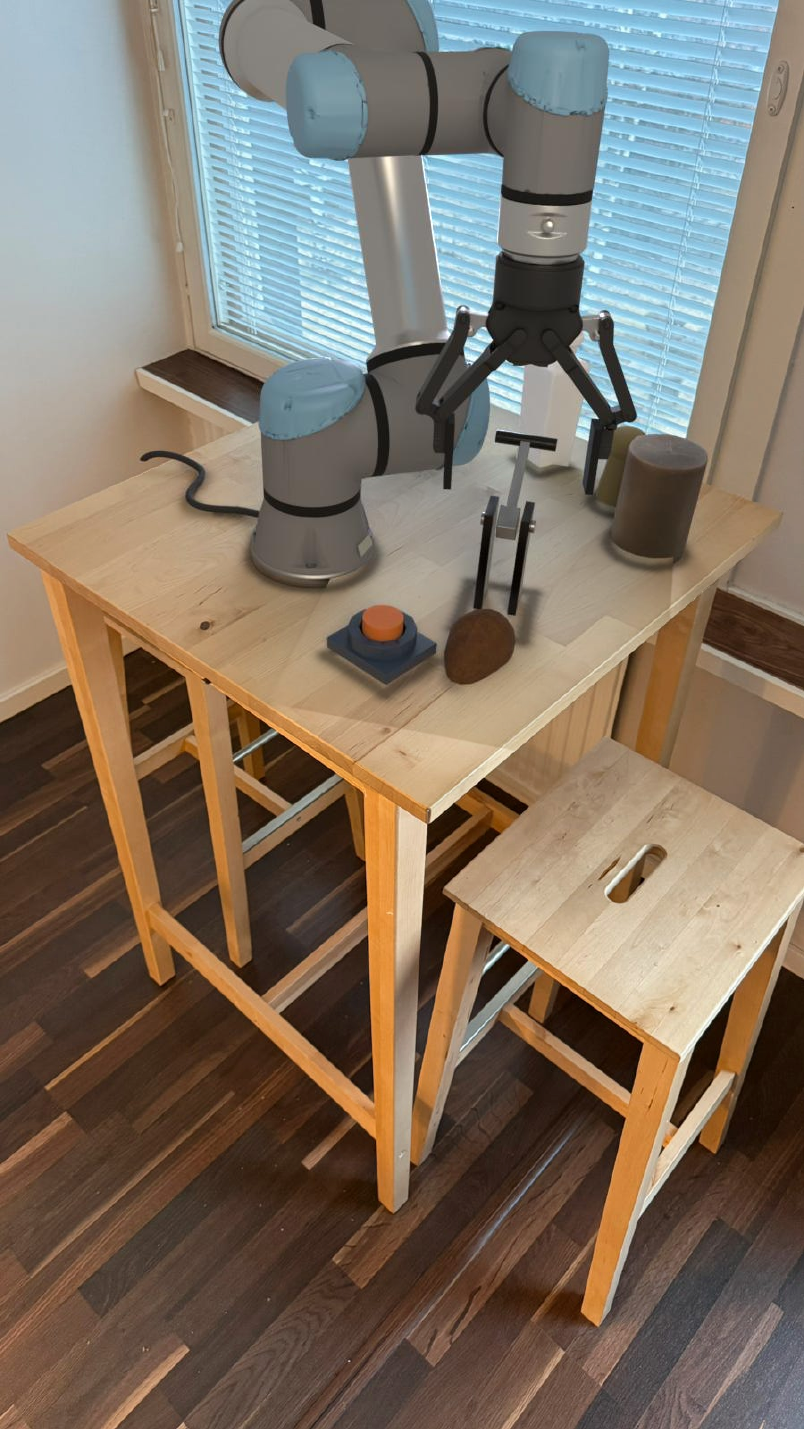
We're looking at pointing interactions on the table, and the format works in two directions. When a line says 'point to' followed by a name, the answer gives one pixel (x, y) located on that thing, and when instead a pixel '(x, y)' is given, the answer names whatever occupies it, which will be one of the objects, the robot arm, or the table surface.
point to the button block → (382, 649)
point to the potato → (478, 646)
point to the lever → (517, 477)
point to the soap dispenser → (551, 409)
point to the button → (382, 623)
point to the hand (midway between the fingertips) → (517, 486)
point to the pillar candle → (658, 495)
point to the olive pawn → (616, 464)
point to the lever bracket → (487, 548)
